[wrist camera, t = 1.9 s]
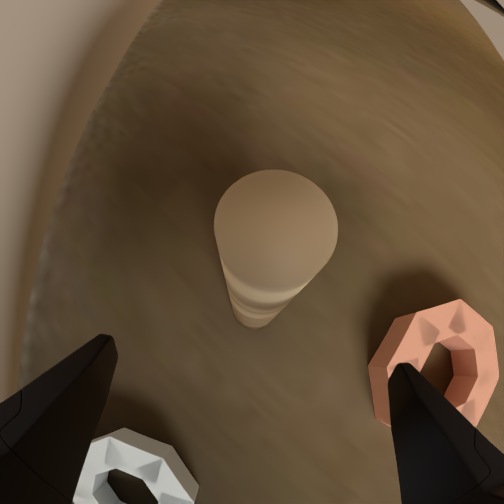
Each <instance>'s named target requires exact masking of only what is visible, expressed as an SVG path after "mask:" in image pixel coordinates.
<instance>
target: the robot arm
mask: <svg viewBox="0 0 504 504" xmlns="http://www.w3.org/2000/svg"><path fill="white" fill-rule="evenodd" d="M117 359H118V353H117V350H116V346H115V342H114V339H113V337H112V336H111V335H106V334H99V335H98V336H96V337H95V338H93V339H92V340H90V341H89V342H87V343H86V344H85V345H83V346H82V347H80V348H79V349H77V350H76V351H74V352H73V353H72V354H70V355H69V356H67V357H66V358H64V359H63V360H62V361H60V362H59V363H57V364H56V365H54V366H53V367H52V368H50V369H49V370H47V371H46V372H44V373H43V374H42V375H40V376H39V377H37V378H36V379H35V380H33V381H32V382H30V383H29V384H28V385H26V386H25V387H23V388H22V389H20V390H19V391H18V392H16V393H15V394H14V395H12V396H10V397H9V398H7V399H6V400H5V401H3V402H1V403H0V504H72V503H71V502H72V501H73V498H74V494H75V491H76V488H77V484H78V481H79V478H80V475H81V472H82V469H83V466H84V463H85V460H86V457H87V454H88V451H89V448H90V445H91V442H92V439H93V436H94V433H95V431H96V428H97V425H98V422H99V420H100V417H101V414H102V412H103V409H104V406H105V403H106V401H107V397H108V394H109V390H110V386H111V382H112V378H113V374H114V371H115V367H116V363H117ZM388 396H389V409H390V422H391V430H392V436H393V442H394V448H395V454H396V461H397V468H398V475H399V483H400V492H401V501H402V504H504V454H503V453H502V452H501V451H500V450H498V449H497V448H496V447H495V446H494V445H493V444H492V443H491V442H490V441H488V440H487V439H486V438H485V437H484V436H483V435H482V434H481V433H480V432H479V431H478V430H477V429H476V428H475V427H474V426H473V425H472V424H471V423H470V422H469V421H468V420H467V419H466V418H465V417H464V416H463V415H462V414H461V413H460V412H459V411H458V410H457V409H456V408H455V407H454V406H453V405H452V404H451V403H450V402H449V401H448V400H447V399H446V398H445V397H444V396H443V395H442V394H441V393H440V392H439V391H438V390H437V389H436V388H435V387H434V386H433V385H432V384H431V383H430V382H429V381H428V380H427V379H426V378H425V377H424V376H423V375H422V374H421V373H420V372H419V371H418V370H417V369H416V368H415V367H414V366H413V365H412V364H410V363H398V364H397V365H396V367H395V368H394V370H393V372H392V374H391V376H390V377H389V379H388Z"/></svg>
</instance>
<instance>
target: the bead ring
mask: <svg viewBox="0 0 504 504" xmlns="http://www.w3.org/2000/svg"><path fill="white" fill-rule="evenodd" d="M436 342H439V343H441V344H442V345H443V346H445V347H446V348H447V349H449V350H450V352H451V359H452V366H453V374H454V376H453V378H452V380H451V382H450V384H449V386H448V388H447V390H446V392H445V394H444V397H445V398H446V399H447V400H448V401H449V402H450V403H451V404H452V405H453V406H454V407H455V408H456V409H457V410H458V411H459V412H460V413H461V414H462V415H463V416H464V417H465V418H466V419H467V420H468V421H469V422H470V423H471V424H472V425H473V426H474V427H476V426H477V424H478V422H479V420H480V418H481V416H482V414H483V412H484V410H485V408H486V406H487V404H488V402H489V399H490V397H491V395H492V393H493V391H494V388H495V386H496V384H497V381H498V379H499V371H498V361H497V353H496V345H495V338H494V332H493V327H492V326H491V325H490V324H489V323H488V322H487V321H485V320H484V319H483V318H482V317H481V316H480V315H479V314H477V313H476V312H475V311H474V310H473V309H472V308H470V307H469V306H468V305H467V304H466V303H465V302H463V301H462V300H461V299H458V300H455V301H452V302H449V303H445V304H442V305H439V306H435V307H432V308H429V309H425V310H422V311H419V312H415V313H412V314H408V315H404V316H401V317H397V318H395V319H394V321H393V323H392V325H391V327H390V328H389V330H388V332H387V334H386V336H385V337H384V339H383V341H382V343H381V344H380V346H379V348H378V350H377V351H376V353H375V355H374V356H373V358H372V360H371V361H370V363H369V365H368V371H369V377H370V384H371V390H372V397H373V405H374V412H375V418H376V419H377V420H379V421H381V422H382V423H384V424H386V425H388V426H389V427H391V422H390V409H389V396H388V379H389V377H390V376H391V374H392V372H393V370H394V368H395V367H396V365H397V364H398V363H410V364H412V365H413V366H414V367H415V368H416V369H417V370H418V371H419V372H420V371H421V369H422V367H423V365H424V363H425V361H426V359H427V357H428V355H429V353H430V351H431V349H432V347H433V345H434V343H436Z"/></svg>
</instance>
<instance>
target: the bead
mask: <svg viewBox="0 0 504 504" xmlns="http://www.w3.org/2000/svg"><path fill="white" fill-rule="evenodd" d="M115 468H117V469H119V470H121V471H124V472H126V473H128V474H131V475H133V476H135V477H138V478H140V479H143V481H144V482H145V483H146V485H147V486H148V488H149V489H150V491H151V492H152V493H153V495H154V496H155V497H156V499H157V500H158V504H194V502H195V499H196V496H197V493H198V489H199V485H198V483H197V482H196V481H195V479H194V478H193V476H192V475H191V474H190V472H189V471H188V469H187V468H186V466H185V465H184V463H183V462H182V460H181V459H180V457H179V456H178V454H177V453H176V451H175V449H174V448H173V446H171V445H168V444H165V443H162V442H160V441H157V440H154V439H152V438H149V437H147V436H144V435H142V434H139V433H137V432H134V431H132V430H129V429H127V428H125V427H124V428H122V429H119V430H117V431H114V432H112V433H109V434H107V435H104V436H101V437H99V438H96V439H93V440H92V442H91V445H90V448H89V451H88V454H87V457H86V460H85V463H84V466H83V469H82V472H81V475H80V478H79V481H78V484H77V488H76V491H75V494H74V498H73V502H74V503H75V504H127V503H124V502H122V501H120V500H119V498H118V497H117V496H116V494H115V493H114V491H113V490H112V488H111V487H110V485H109V484H108V482H107V478H108V473H109V470H112V469H115Z"/></svg>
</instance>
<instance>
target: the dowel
mask: <svg viewBox="0 0 504 504" xmlns="http://www.w3.org/2000/svg"><path fill="white" fill-rule="evenodd" d="M214 233H215V238H216V242H217V246H218V251H219V255H220V259H221V263H222V268H223V272H224V276H225V280H226V284H227V288H228V292H229V296H230V301H231V305H232V309H233V313H234V316H235V318H236V320H237V321H238V322H239V323H240V324H241V325H242V326H244V327H246V328H249V329H259V328H262V327H264V326H266V325H267V324H268V323H269V322H270V321H271V320H272V319H273V318H274V317H275V316H276V315H277V314H278V313H279V312H280V311H281V310H282V309H283V308H284V307H285V306H286V305H287V304H288V303H289V302H290V301H291V300H292V299H293V298H294V297H295V296H296V295H297V294H298V293H299V292H300V291H301V290H302V289H303V288H304V287H305V286H306V285H307V284H308V282H309V281H310V280H311V279H312V278H313V277H314V276H315V275H316V274H317V273H318V272H319V271H320V270H321V269H322V268H323V267H324V266H325V264H326V263H327V262H328V260H329V259H330V257H331V255H332V254H333V252H334V249H335V246H336V243H337V238H338V222H337V217H336V213H335V211H334V208H333V206H332V204H331V202H330V200H329V199H328V197H327V196H326V194H325V193H324V192H323V191H322V190H321V189H320V188H319V187H318V186H317V185H316V184H314V183H313V182H312V181H310V180H309V179H307V178H305V177H303V176H301V175H299V174H296V173H293V172H290V171H285V170H274V169H273V170H262V171H257V172H254V173H251V174H249V175H246V176H244V177H242V178H241V179H239V180H238V181H236V182H235V183H234V184H232V185H231V186H230V187H229V188H228V189H227V191H226V192H225V193H224V195H223V196H222V198H221V199H220V201H219V203H218V206H217V209H216V212H215V217H214Z"/></svg>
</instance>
